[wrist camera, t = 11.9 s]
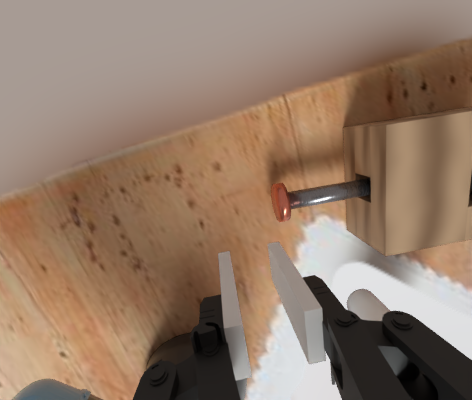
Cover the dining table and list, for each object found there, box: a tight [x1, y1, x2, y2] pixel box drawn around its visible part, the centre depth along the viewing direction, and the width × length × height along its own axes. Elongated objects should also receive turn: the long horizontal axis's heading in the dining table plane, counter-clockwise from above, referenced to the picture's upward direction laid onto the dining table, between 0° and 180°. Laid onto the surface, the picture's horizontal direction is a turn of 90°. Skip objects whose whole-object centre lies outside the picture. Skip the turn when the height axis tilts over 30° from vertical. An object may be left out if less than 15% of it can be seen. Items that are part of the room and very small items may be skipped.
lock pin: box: [271, 178, 371, 222], centre depth 29 cm, size 14×4×4 cm, turn 99°
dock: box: [343, 107, 472, 256], centre depth 30 cm, size 17×14×8 cm
